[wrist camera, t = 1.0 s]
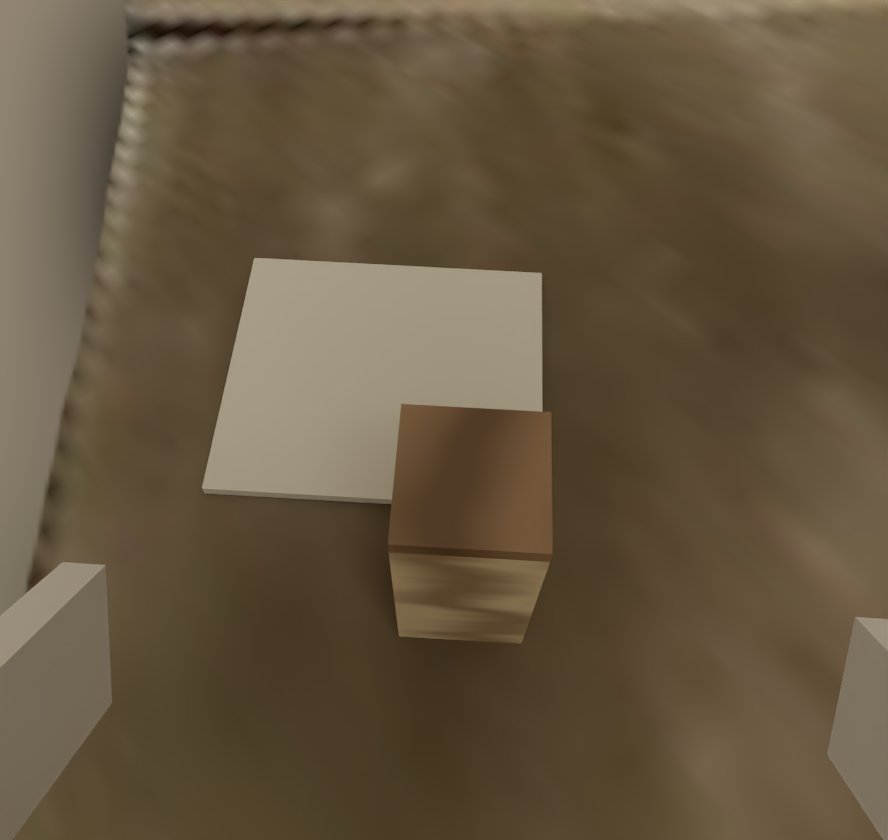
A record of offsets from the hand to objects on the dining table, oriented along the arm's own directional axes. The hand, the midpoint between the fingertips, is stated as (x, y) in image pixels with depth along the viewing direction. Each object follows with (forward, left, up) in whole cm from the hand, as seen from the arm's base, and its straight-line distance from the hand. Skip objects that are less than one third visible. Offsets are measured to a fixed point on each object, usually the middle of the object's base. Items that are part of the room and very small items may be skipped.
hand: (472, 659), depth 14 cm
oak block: (0, -10, -25) cm, 28 cm away
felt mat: (+5, -22, -25) cm, 34 cm away
